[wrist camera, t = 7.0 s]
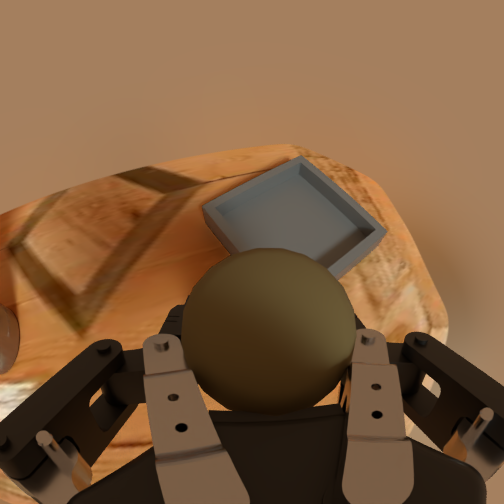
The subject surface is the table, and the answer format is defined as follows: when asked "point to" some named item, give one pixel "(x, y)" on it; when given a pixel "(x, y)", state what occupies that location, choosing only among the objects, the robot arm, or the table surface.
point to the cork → (268, 331)
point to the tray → (295, 217)
